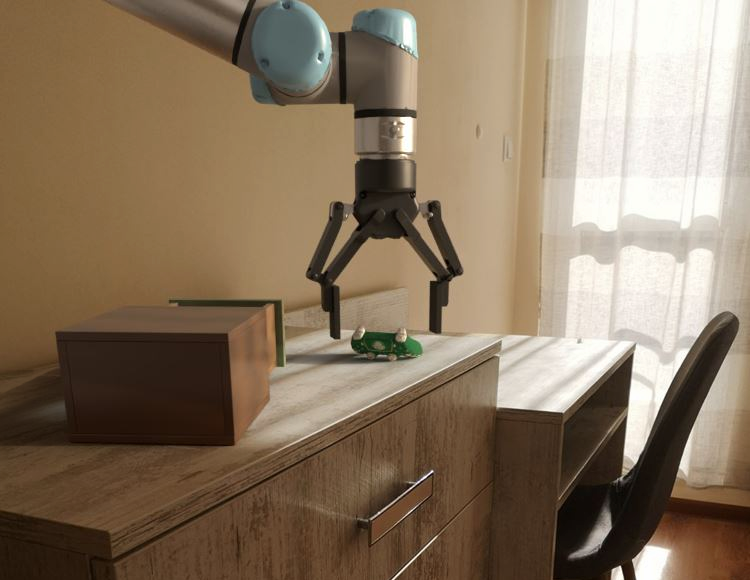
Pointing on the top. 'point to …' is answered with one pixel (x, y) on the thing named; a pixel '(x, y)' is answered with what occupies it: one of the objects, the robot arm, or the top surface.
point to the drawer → (272, 317)
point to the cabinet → (165, 374)
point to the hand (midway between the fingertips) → (386, 335)
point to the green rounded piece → (385, 344)
